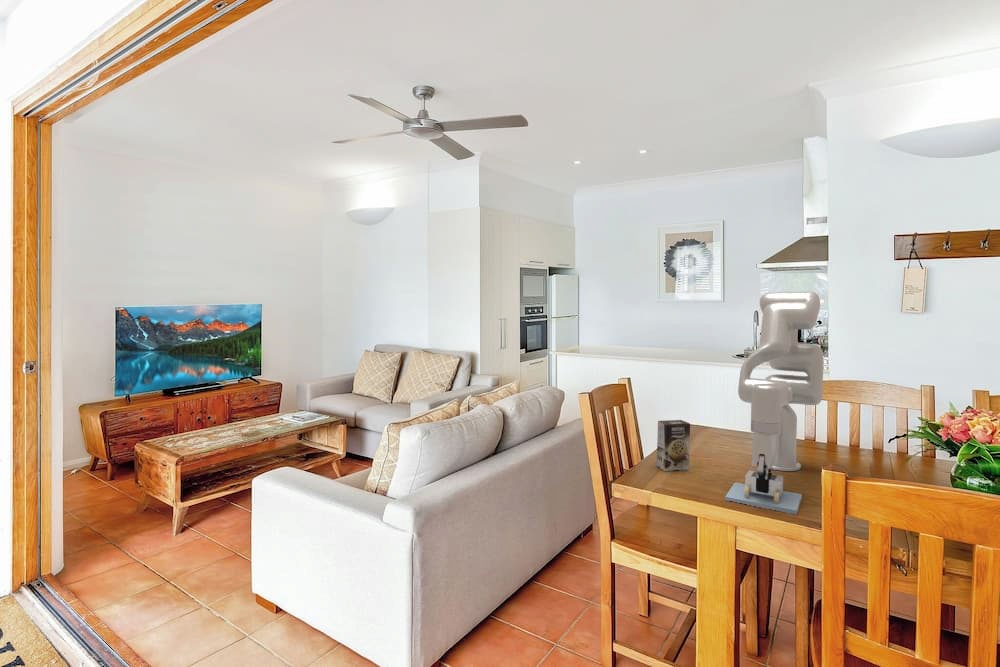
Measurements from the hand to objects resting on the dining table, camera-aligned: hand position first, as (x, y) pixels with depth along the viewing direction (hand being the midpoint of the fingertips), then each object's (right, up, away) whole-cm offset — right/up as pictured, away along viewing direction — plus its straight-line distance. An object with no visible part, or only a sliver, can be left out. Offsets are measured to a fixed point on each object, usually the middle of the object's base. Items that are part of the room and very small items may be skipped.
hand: (763, 488), depth 151 cm
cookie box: (-17, -2, +29) cm, 33 cm away
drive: (0, -1, 0) cm, 1 cm away
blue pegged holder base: (0, -3, 0) cm, 3 cm away
